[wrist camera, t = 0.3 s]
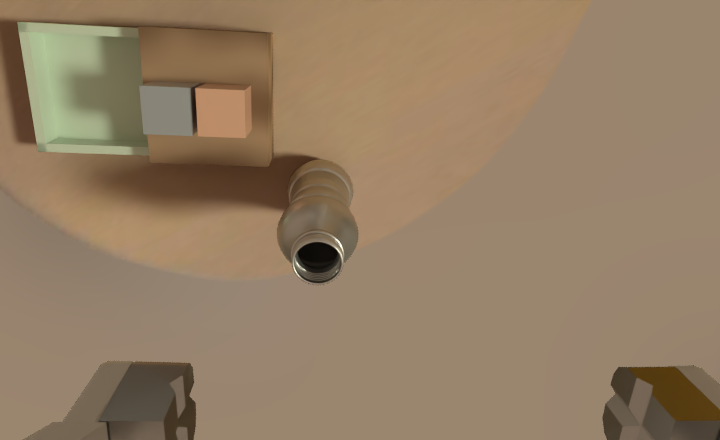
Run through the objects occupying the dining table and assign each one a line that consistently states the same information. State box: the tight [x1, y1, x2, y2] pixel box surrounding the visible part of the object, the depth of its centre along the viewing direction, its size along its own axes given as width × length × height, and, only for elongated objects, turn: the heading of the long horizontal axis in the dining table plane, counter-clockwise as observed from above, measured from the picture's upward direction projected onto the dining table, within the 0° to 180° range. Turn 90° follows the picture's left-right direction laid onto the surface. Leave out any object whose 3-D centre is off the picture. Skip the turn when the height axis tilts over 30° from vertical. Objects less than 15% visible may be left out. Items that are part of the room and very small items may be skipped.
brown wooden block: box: [138, 26, 273, 167], centre depth 50 cm, size 12×11×5 cm
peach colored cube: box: [195, 83, 252, 138], centre depth 46 cm, size 4×4×4 cm
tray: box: [17, 22, 149, 156], centre depth 50 cm, size 12×11×3 cm
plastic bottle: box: [277, 160, 358, 285], centre depth 46 cm, size 6×7×20 cm
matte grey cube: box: [139, 81, 200, 136], centre depth 45 cm, size 4×4×4 cm
